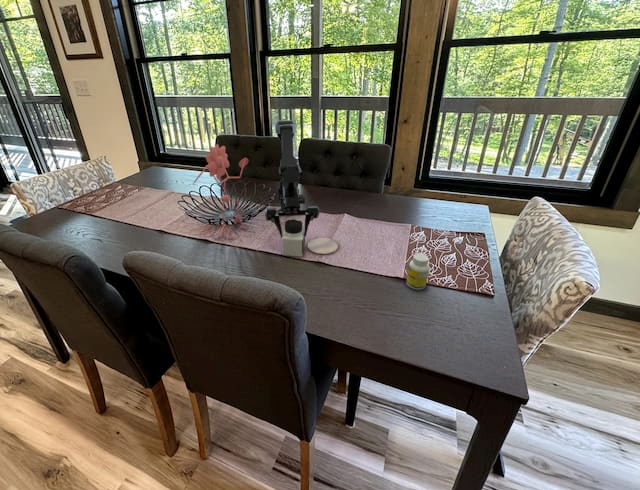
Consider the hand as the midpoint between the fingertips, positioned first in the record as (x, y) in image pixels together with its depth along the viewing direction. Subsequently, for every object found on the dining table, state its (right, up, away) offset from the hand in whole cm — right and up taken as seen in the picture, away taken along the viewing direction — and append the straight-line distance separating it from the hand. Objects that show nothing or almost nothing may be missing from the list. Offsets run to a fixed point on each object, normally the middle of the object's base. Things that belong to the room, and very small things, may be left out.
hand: (293, 236), depth 107 cm
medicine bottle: (0, -5, +4) cm, 7 cm away
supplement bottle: (+36, -14, -15) cm, 41 cm away
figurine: (-27, +2, +21) cm, 34 cm away
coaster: (+11, -4, +6) cm, 13 cm away
